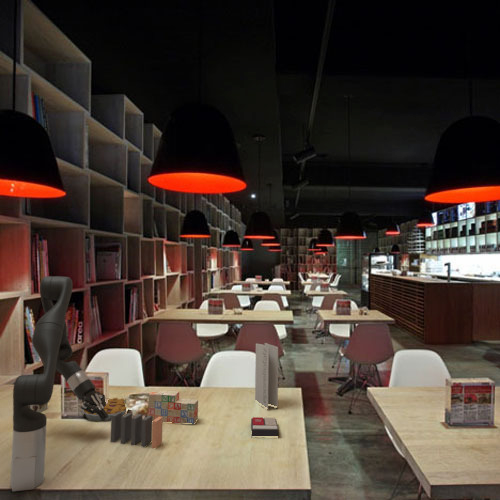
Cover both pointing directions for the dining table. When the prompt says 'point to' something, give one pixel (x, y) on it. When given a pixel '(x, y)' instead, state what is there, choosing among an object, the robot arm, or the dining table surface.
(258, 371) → the brochure
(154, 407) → the stack of blocks
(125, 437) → the domino
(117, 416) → the domino
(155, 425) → the end domino
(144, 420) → the domino
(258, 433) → the book
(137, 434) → the domino
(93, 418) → the berry pie
